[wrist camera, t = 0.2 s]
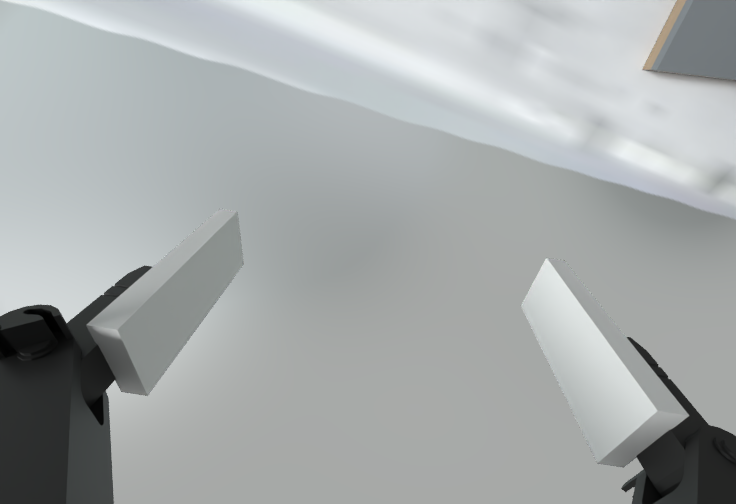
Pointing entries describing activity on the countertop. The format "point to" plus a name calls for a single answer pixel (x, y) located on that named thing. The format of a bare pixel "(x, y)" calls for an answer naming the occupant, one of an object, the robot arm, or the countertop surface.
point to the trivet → (697, 40)
